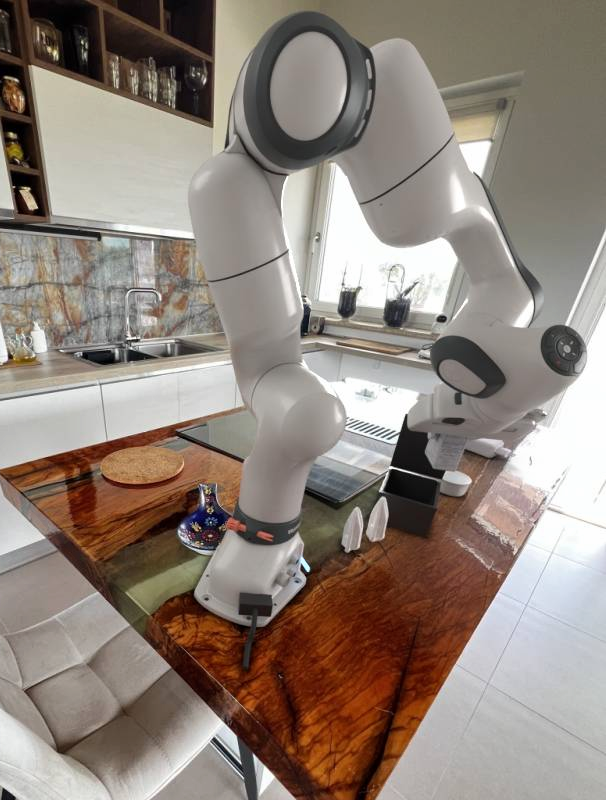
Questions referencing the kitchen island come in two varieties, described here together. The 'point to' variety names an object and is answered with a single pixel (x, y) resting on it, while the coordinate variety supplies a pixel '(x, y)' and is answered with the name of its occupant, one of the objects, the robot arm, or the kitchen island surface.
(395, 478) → the black open box
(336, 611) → the kitchen island surface
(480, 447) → the white bottle
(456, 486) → the ramekin
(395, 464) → the black box lid
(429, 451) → the medicine box
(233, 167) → the robot arm
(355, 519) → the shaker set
